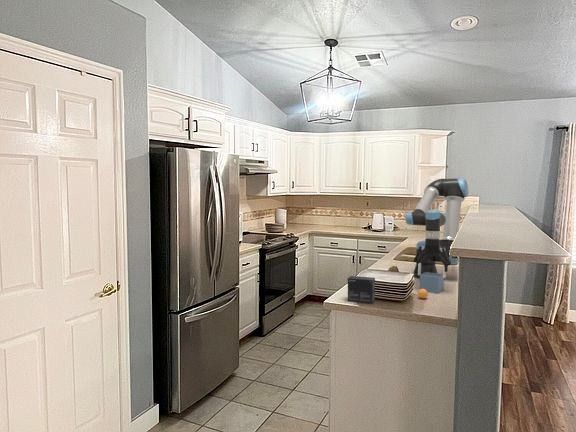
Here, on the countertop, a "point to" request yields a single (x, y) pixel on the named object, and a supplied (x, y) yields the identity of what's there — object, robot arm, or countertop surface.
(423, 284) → the grey-blue square block
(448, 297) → the countertop surface
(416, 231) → the countertop surface
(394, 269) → the rock
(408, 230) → the countertop surface
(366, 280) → the small box
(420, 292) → the ball
